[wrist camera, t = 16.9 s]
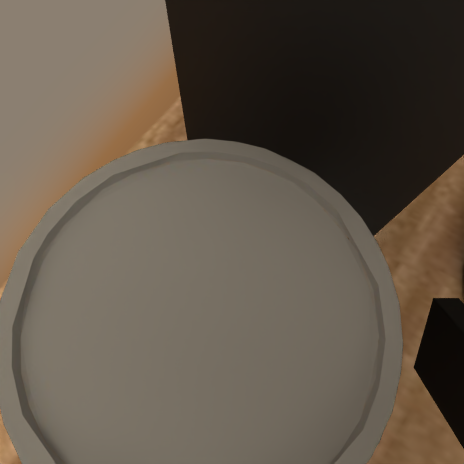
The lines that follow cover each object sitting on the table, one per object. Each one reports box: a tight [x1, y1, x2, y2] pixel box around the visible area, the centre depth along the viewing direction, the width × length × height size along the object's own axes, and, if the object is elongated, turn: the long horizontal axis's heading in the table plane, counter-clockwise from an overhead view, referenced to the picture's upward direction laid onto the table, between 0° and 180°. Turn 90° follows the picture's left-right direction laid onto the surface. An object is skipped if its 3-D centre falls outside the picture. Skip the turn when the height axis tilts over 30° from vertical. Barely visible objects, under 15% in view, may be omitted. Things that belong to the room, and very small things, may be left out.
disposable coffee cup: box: [0, 139, 403, 464], centre depth 14 cm, size 10×10×12 cm
